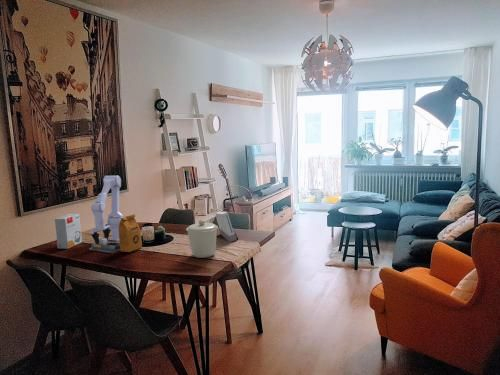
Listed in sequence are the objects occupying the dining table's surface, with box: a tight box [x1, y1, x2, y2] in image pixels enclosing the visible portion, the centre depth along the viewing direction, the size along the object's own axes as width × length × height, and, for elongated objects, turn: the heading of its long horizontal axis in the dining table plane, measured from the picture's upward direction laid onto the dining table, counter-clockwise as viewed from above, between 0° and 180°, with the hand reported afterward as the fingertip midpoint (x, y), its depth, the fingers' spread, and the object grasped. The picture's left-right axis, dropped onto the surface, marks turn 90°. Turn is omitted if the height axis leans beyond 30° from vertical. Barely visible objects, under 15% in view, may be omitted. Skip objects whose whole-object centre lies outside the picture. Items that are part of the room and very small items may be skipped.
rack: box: [88, 240, 120, 254], centre depth 245 cm, size 12×20×4 cm, turn 64°
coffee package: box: [118, 213, 143, 253], centre depth 238 cm, size 10×12×22 cm
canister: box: [185, 219, 219, 259], centre depth 223 cm, size 18×18×21 cm
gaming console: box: [214, 211, 239, 243], centre depth 258 cm, size 23×8×20 cm, turn 20°
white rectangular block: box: [99, 237, 108, 244], centre depth 247 cm, size 3×7×5 cm, turn 64°
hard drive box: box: [54, 213, 83, 250], centre depth 255 cm, size 16×8×20 cm, turn 168°
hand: (101, 242), depth 247 cm, fingers open, 7 cm apart
